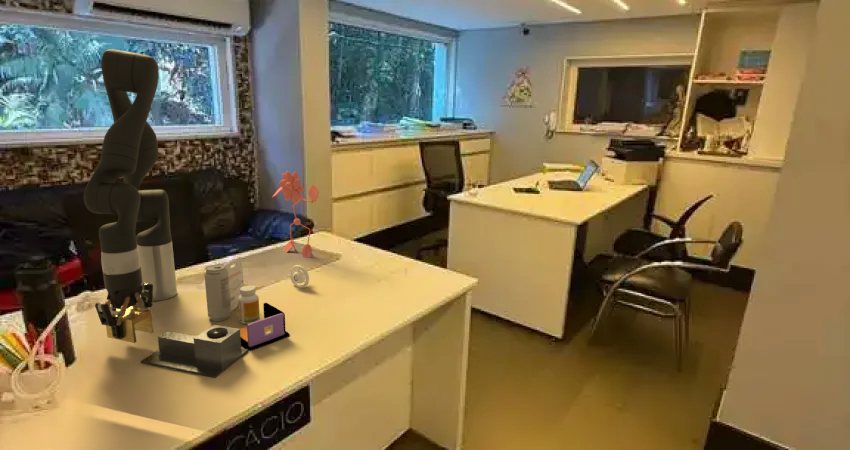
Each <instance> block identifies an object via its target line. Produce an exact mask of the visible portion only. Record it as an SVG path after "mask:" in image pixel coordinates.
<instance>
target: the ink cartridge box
mask: <svg viewBox="0 0 850 450" xmlns="http://www.w3.org/2000/svg"><path fill="white" fill-rule="evenodd" d="M233 264H235V265H233ZM224 265H225V268H226V269H227V271H228V276H229V290H230V304H231V312H232V311H234V310H235V309H237V308H239V307H238V297H239V296H240V295H241V294H240V288H241V287H244V286H245V284H244V283H245V282H244V270H243V269H244V268H243V263H242V257H240V256H239V257H236V258H235V259H234V260H233V259H232V260H231V261H230V262H228V263H225V264H224Z"/></svg>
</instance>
